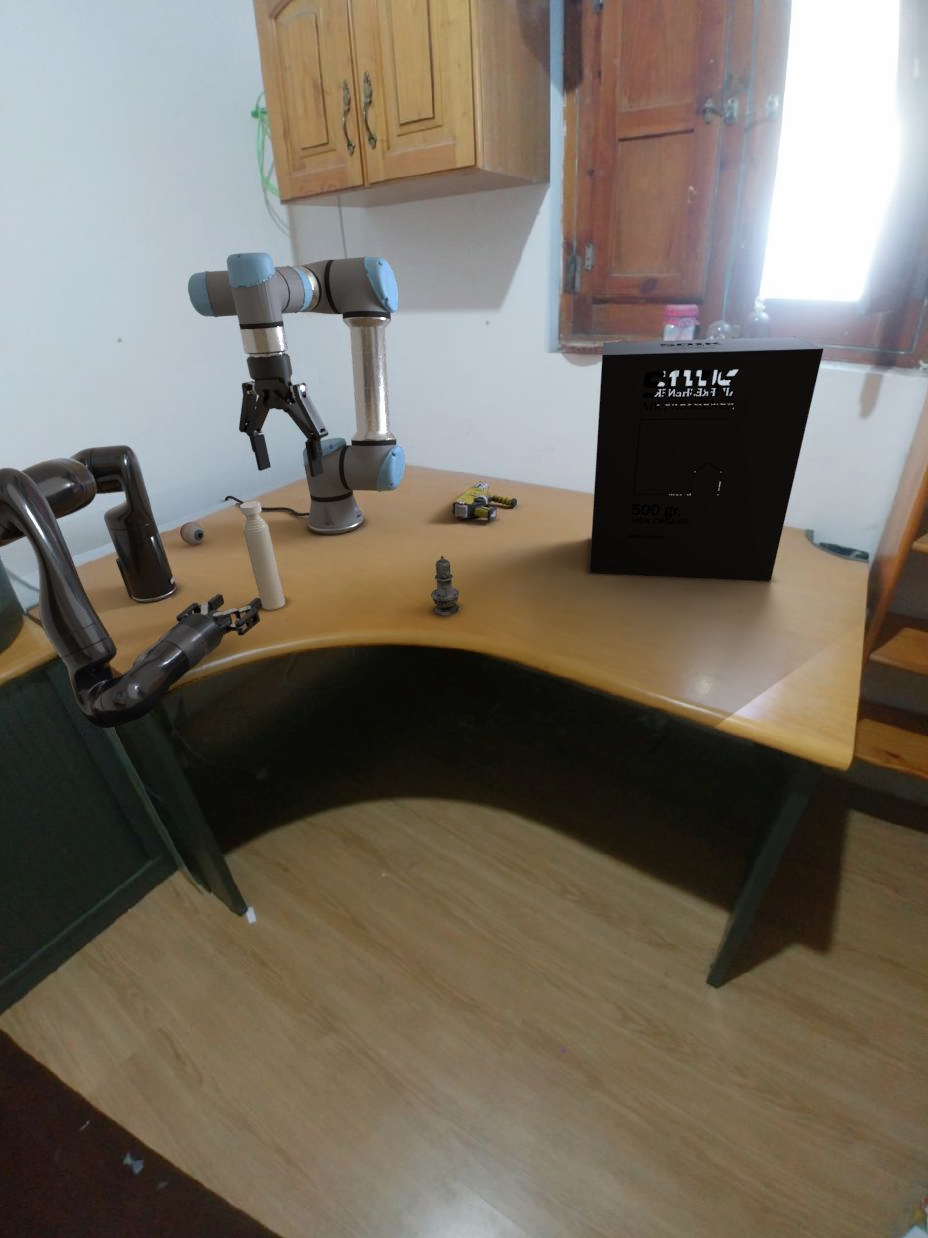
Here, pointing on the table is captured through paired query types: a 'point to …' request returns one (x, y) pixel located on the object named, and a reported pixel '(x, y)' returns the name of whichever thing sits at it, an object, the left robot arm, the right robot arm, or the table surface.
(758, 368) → the cardboard box
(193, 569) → the table surface
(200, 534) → the eyeball
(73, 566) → the left robot arm
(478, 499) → the toy gun
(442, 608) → the grey chess piece
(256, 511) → the cap
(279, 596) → the bottle
